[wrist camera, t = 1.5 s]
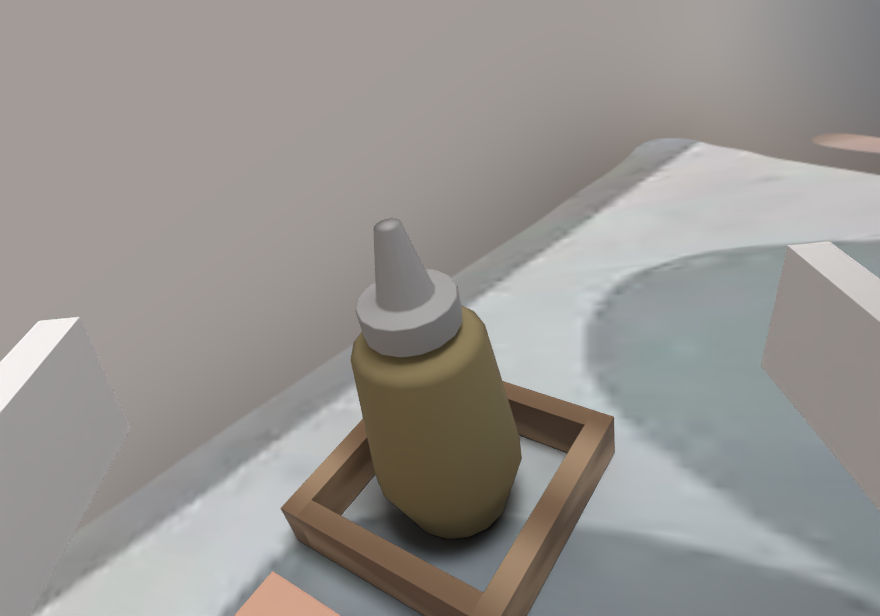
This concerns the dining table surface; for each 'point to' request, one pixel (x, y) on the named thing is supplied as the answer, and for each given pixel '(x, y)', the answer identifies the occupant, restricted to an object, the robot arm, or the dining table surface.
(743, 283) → the dining table surface
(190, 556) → the dining table surface
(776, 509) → the dining table surface
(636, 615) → the dining table surface
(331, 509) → the bottle holder
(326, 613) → the tile
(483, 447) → the squeeze bottle
